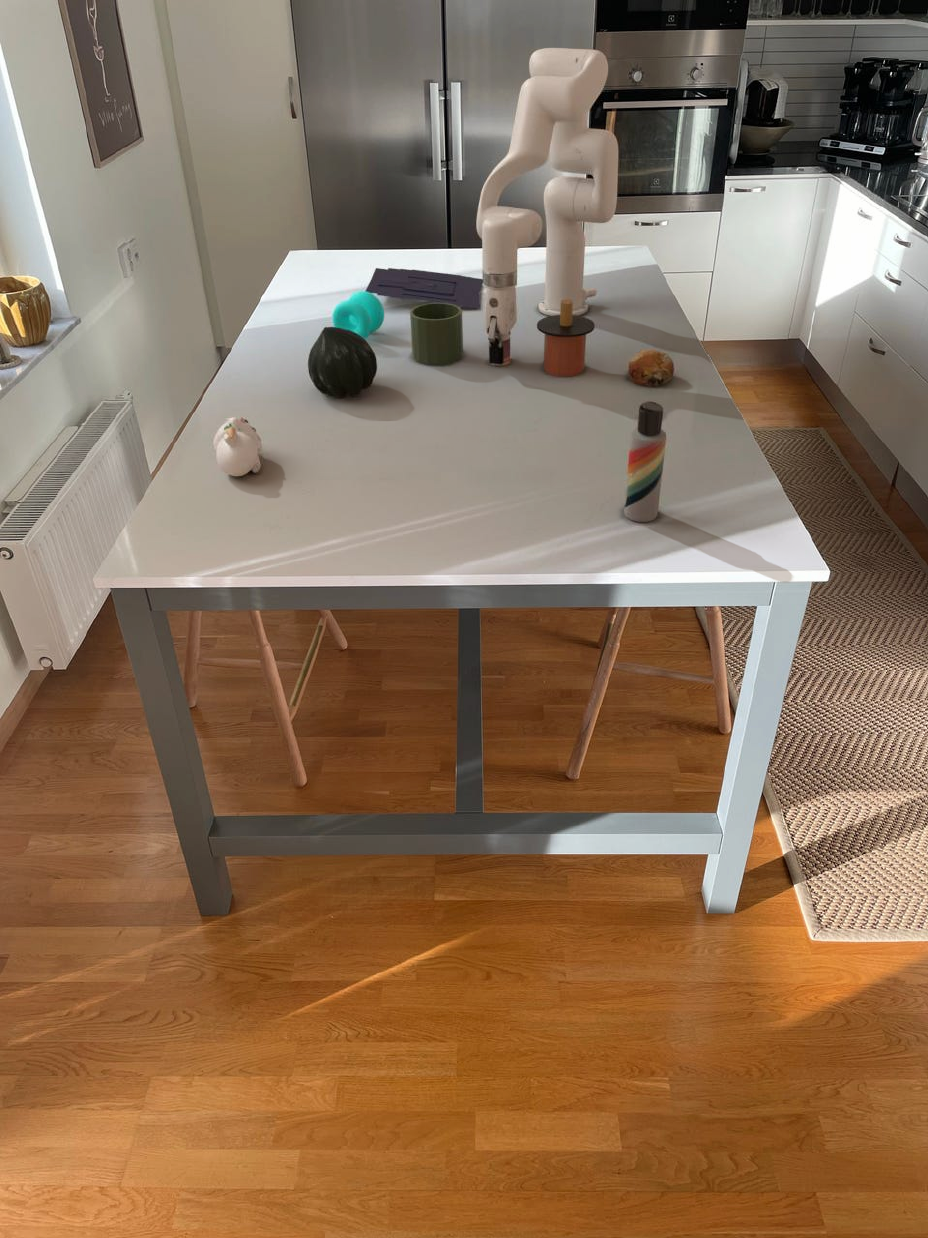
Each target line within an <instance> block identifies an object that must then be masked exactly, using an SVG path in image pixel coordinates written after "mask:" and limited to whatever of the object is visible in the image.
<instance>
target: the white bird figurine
mask: <svg viewBox="0 0 928 1238" xmlns="http://www.w3.org/2000/svg"><path fill="white" fill-rule="evenodd" d="M213 448H214V450H215V457H216V458H215V459H216V461H217V464H218V466H219V468H220V469H221V471H223V472H224V473H225V474H227V475H229V476H232V477H242V476H245V475H246V474H248V473H249V472H250V471H252V472H253V473H255V474H256V473H258V472H259V471H260V469H261V466H262V464H261V461H260V456H259V452H260V451H262V450H263V443H262V439H261V437H260V435H259V434H258V433H257V430H256V428H255V427H253V425H251V424H250V422H249V421H248V419H245V418H243V417H242V416H240V417H235V416H234V417H227V418H226V419H225V422H224V423H223V424H222V425H221V426H219V429H218V430H217V432H216V434H215V436H214V439H213Z"/></svg>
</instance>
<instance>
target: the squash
mask: <svg viewBox="0 0 928 1238" xmlns="http://www.w3.org/2000/svg"><path fill="white" fill-rule="evenodd" d="M307 369H308V375H309V378H310V381H311V382H312V383H313V386H314V387H315V388H316V389H317V390H318V391H319V392H320V393H321V394H323V395H327V396H333V397H335V398H338V399H343V398H345V397H346V396H347V395H348V397H349V396H350V397H351V398H354V397H357V396H359V395H360V394H361V392H362V390H367V389H369V388H370V387H371V386H372V385H373V382H374V379H375V378H376V375H377V372H378V362H377V356H376V354H375V351H374V350H373V348H372V347H371V345H370V344H369V342H368V341H367V340H366V339H363V338H362V337H361V336H360V335H359V334H357V333H355V332H353V331H350V330H346V329H342V328H337V327H334V326H328V327H327V326H325V327H323V329H322V330H321V332H320V334H319V336H318V337H317V339H316V341H315V342H314V344H313V345H312V347H311V349H310V351H309V353H308V359H307Z"/></svg>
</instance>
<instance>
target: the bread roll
mask: <svg viewBox="0 0 928 1238" xmlns="http://www.w3.org/2000/svg"><path fill="white" fill-rule="evenodd" d="M673 361H674V360H673V359H672V357H671V356H669V354H667V353H666V352H663V351H661V350H659V349H655V348H654V349H641V350H640V351H639V352H638V353H637V354H635V355H634V356H633V357H632V358H631V359H630V360H629V363H628V378H629V381H630V382H631V383H633V384H635V385H638V386H642V387H659V386H664V385H666V384H667V383H669V382H670V381H671V380H672V379H673V378H674V374H675V364H674V362H673Z"/></svg>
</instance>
